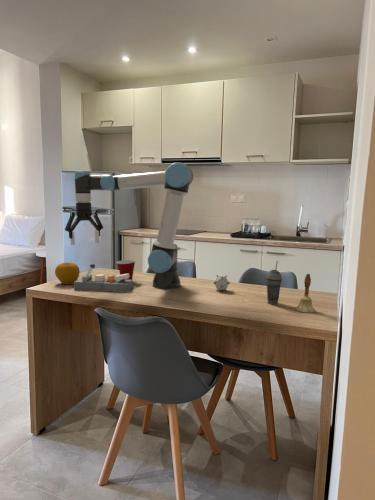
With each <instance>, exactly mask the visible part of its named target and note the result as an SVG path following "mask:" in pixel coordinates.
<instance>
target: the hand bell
mask: <svg viewBox="0 0 375 500" xmlns="http://www.w3.org/2000/svg"><path fill="white" fill-rule="evenodd" d="M303 283H304V294H303V296H301V297H300V300H299V302H298V305H297V306H296V307H295V311H297V312H299V313H300V312H301V313H305V314H312V313H315V312H316V309H315V308H314V306H313V302H312V298H311V297H310V296H309V294H310V293H309V291H310V286H311V283H312V279H311V274H310V273H306V275H305V277H304V282H303Z"/></svg>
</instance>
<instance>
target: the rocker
mask: <svg viewBox="0 0 375 500" xmlns="http://www.w3.org/2000/svg"><path fill="white" fill-rule="evenodd" d="M129 277H130V276H129V273H127V274H122V275H120V274H117V275H116V276H115V280H116V281H117V280H122V279H128V278H129Z"/></svg>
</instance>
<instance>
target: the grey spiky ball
mask: <svg viewBox="0 0 375 500" xmlns="http://www.w3.org/2000/svg"><path fill="white" fill-rule="evenodd" d="M227 277H228V275H227V274H226V275H225V276H222V275H221V276H220V275H219V276H218V275H216V279H215V281H214V282H213V285H214V286H215V288H216V291H215V292H218V291H225V292H227V289H228V286H229V285H230V284H231V282H229V280H228V278H227Z"/></svg>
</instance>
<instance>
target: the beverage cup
mask: <svg viewBox="0 0 375 500" xmlns="http://www.w3.org/2000/svg"><path fill="white" fill-rule="evenodd" d="M278 262H279V261H278V260H276V264H275V269H271V270H269V271H268V272H266V273H267V274H266V275H265V282H266V296H267V297H266V299H267V304H268V305H271V306H272V305H273V306H274V305H275V306H276V305H278V304H279V298H280V293H281V292H280V291H281V284H282V280H283V276H282V273H281V272H280V271H278V270H277V267H278V264H279V263H278Z"/></svg>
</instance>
